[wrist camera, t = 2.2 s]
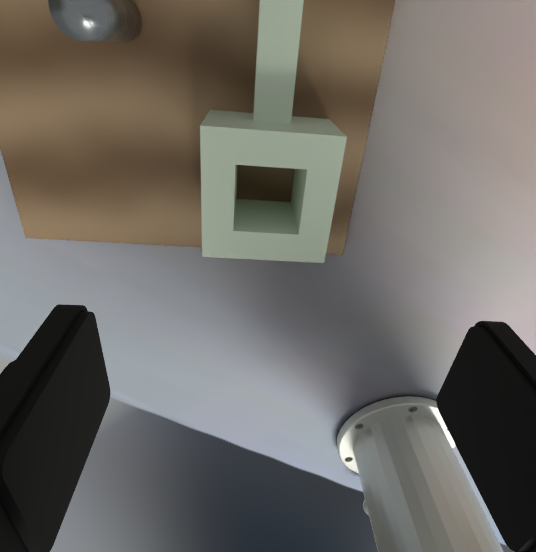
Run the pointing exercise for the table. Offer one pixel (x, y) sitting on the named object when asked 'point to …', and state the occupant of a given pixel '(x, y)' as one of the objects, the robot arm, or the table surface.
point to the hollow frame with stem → (270, 158)
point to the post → (97, 19)
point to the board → (167, 112)
